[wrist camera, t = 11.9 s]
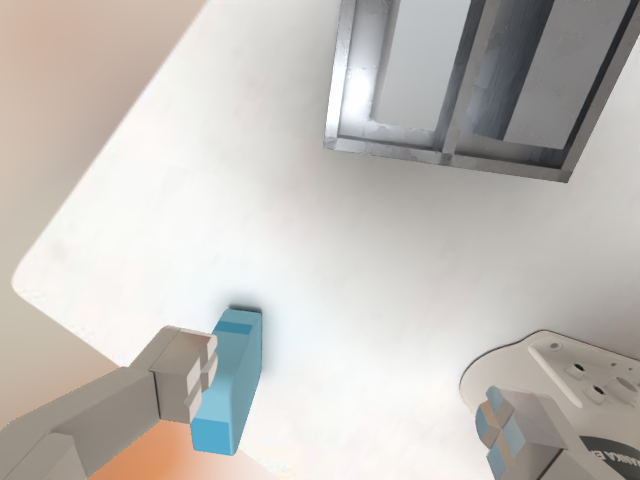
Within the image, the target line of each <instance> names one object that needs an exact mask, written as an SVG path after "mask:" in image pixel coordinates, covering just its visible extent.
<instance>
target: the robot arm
mask: <svg viewBox="0 0 640 480" xmlns="http://www.w3.org/2000/svg"><path fill="white" fill-rule="evenodd" d="M216 346H217V336H216V335H213V334H209V333H204V332H199V331H194V330H189V329H185V328H178V327H174V326H169V325H167V326H165V327H163V328H162V329H161V330H160V331H159V332H158V333H157V334H156V336H155V337H154V338H153V339H152V340H151V341H150V343H149V344H148V345H147V346H146V347H145V348H144V349H143V351H142V352H141V353H140V354H139V355H138V356H137V358H136V359H135V360H134V361H133V362H132V363H131V365H130V366H129V367H121V368H119V369H117V370H115V371H113V372H111V373H109V374H107V375H105V376H102V377H101V378H98V379H96V380H95V381H92V382H90V383H88V384H86V385H84V386H82V387H80V388H78V389H76V390H74V391H72V392H70V393H68V394H66V395H64V396H62V397H60V398H58V399H56V400H54V401H52V402H50V403H48V404H46V405H43V406H41V407H39V408H37V409H36V410H33V411H31V412H29V413H27V414H25V415H23V416H21V417H19V418H17V419H15V420H13V421H11V422H10V423H9V424H8V425H7V426H6V427H5V428H3V429H2V430H1V431H0V480H88V479H87V478H88V477H90V476H91V475H92V474H94V473H95V472H96V471H97V470H99V469H100V468H101V467H102V466H104V465H105V464H106V463H107V462H109V461H110V460H111V459H113V458H114V457H115V456H116V455H118V454H119V453H120V452H121V451H123V450H124V449H125V448H127V447H128V446H129V445H130V444H132V443H133V442H134V441H135V440H137V439H138V438H139V437H140V436H142V435H143V434H144V433H145V432H147V431H148V430H149V429H150V428H152V427H153V426H154V425H156V424H157V423H158V422H159V421H160V419H162V420H168V421H174V422H180V423H186V424H191V422H192V420H193V418H194V416H195V414H196V412H197V410H198V408H199V406H200V405H201V403H202V395H201V393H203V392H204V391H206V390H207V389H209V387H210V385H211V383H212V381H213V378H214V375H215V372H216V369H217V363H218V356H217V354H216V353H215V352H214V350H215V348H216ZM460 394H461V397H462V399H463V401H464V403H465V404H466V405H467V407H468V408H469V409H470V411H471V412H472V413H473V415H474V416H475V418H476V421H475V423H476V428H477V432H478V435H479V438H480V440H481V441H482V442H483V443H484V444H485V446H486V447H487V448H488V449H489V451H488V454H487V459H488V462H489V465H490V467H491V470H492V473H493V475H494V478H495V480H640V362H639V361H637V360H634V359H631V358H628V357H625V356H622V355H619V354H616V353H613V352H610V351H607V350H604V349H601V348H598V347H595V346H592V345H589V344H586V343H583V342H580V341H577V340H574V339H571V338H568V337H565V336H562V335H559V334H556V333H553V332H549V331H540V332H537V333H535V334H533V335H531V336H529V337H528V338H526V339H524V340H523V341H521V342H519V343H517V344H514V345H511V346H507V347H503V348H500V349H497V350H495V351H492V352H490V353H488V354H486V355H484V356H483V357H481V358H480V359H478V360H477V361H476V362H474V363H473V364H472V365H471V366H470V367H469V368H468V370H467V371H466V372H465V374H464V376H463V378H462V380H461V384H460Z"/></svg>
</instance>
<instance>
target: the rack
mask: <svg viewBox="0 0 640 480" xmlns="http://www.w3.org/2000/svg"><path fill="white" fill-rule="evenodd" d="M390 2H391V0H342V3H341V11H340V19H339V27H338V35H337V43H336V50H335V58H334V66H333V74H332V82H331V90H330V98H329V106H328V114H327V122H326V130H325V138H324V146H323V148H325V149H332V150H339V151H346V152H353V153H360V154H367V155H374V156H381V157H388V158H395V159H402V160H409V161H416V162H423V163H430V164H437V165H444V166H451V167H458V168H465V169H472V170H479V171H486V172H493V173H500V174H507V175H514V176H521V177H528V178H535V179H542V180H549V181H556V182H563V183H568V181H569V178H570V176H571V174H572V172H573V170H574V168H575V166H576V164H577V162H578V160H579V158H580V156H581V154H582V152H583V150H584V147H585V145H586V143H587V141H588V139H589V137H590V135H591V133H592V131H593V129H594V127H595V125H596V123H597V121H598V119H599V116H600V114H601V112H602V110H603V108H604V106H605V104H606V102H607V100H608V98H609V96H610V94H611V92H612V90H613V88H614V85H615V83H616V81H617V79H618V77H619V75H620V73H621V71H622V69H623V67H624V65H625V63H626V61H627V59H628V57H629V54H630V52H631V50H632V48H633V46H634V44H635V42H636V40H637V38H638V36H639V34H640V0H471V2H470V6H469V9H468V13H467V17H466V20H465V24H464V28H463V31H462V35H461V39H460V42H459V46H458V50H457V53H456V57H455V61H454V64H453V68H452V72H451V75H450V79H449V82H448V86H447V90H446V93H445V97H444V101H443V104H442V108H441V112H440V115H439V119H438V123H437V126H436V130H435V131H430V130H423V129H416V128H409V127H402V126H395V125H388V124H381V123H376V122H375V121H374V120H372V119H371V118H370V111H371V106H372V100H373V95H374V89H375V84H376V78H377V73H378V67H379V62H380V56H381V51H382V45H383V40H384V34H385V29H386V23H387V18H388V13H389V7H390Z"/></svg>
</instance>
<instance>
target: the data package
mask: <svg viewBox="0 0 640 480" xmlns="http://www.w3.org/2000/svg"><path fill="white" fill-rule="evenodd" d="M212 334H213V335H216V336H217V346H216V348H215V350H214V352H215V353H216V354H217V356H218V363H217V369H216V372H215V375H214V378H213V381H212V383H211V385H210V387H209V389H207V390H206V391H204V392H203V393H201V395H202V403H201V405H200V406H199V408H198V410H197V412H196V414H195V416H194V418H193V420H192V422H191V424H190V428H191V435H192V442H193V448H194V450H196V451H203V452H210V453H216V454H223V455H230V456H233V455H234V454H235V453H236V451H237V448H238V445H239V442H240V439H241V436H242V433H243V429H244V426H245V423H246V420H247V417H248V414H249V410H250V407H251V404H252V401H253V398H254V395H255V391H256V388H257V385H258V382H259V378H260V373H261V345H262V315H261V314H260V313H256V312H249V311H241V310H233V309H227V310H225V312H224V313H223V315H222V317H221V318H220V320H219V322H218V323H217V325H216V327H215V329H214V330H213V332H212Z"/></svg>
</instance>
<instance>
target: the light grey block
mask: <svg viewBox="0 0 640 480" xmlns="http://www.w3.org/2000/svg"><path fill="white" fill-rule="evenodd" d="M470 2H471V0H391V2H390V7H389V13H388V18H387V23H386V29H385V34H384V40H383V45H382V51H381V56H380V62H379V67H378V73H377V78H376V84H375V89H374V95H373V100H372V106H371V111H370V118H371V119H372V120H374V121H375V122H376V123H381V124H388V125H395V126H402V127H409V128H416V129H423V130H430V131H435V130H436V126H437V123H438V119H439V115H440V112H441V108H442V104H443V101H444V97H445V93H446V90H447V86H448V82H449V79H450V75H451V72H452V68H453V64H454V61H455V57H456V53H457V50H458V46H459V42H460V39H461V35H462V31H463V28H464V24H465V20H466V17H467V13H468V9H469V6H470Z"/></svg>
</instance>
